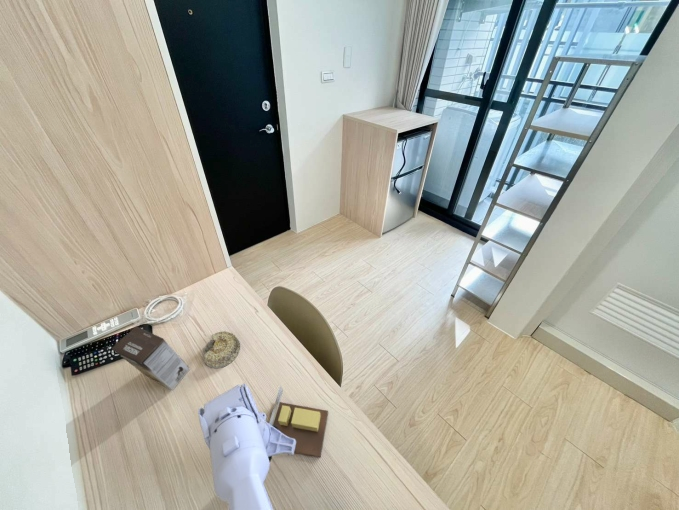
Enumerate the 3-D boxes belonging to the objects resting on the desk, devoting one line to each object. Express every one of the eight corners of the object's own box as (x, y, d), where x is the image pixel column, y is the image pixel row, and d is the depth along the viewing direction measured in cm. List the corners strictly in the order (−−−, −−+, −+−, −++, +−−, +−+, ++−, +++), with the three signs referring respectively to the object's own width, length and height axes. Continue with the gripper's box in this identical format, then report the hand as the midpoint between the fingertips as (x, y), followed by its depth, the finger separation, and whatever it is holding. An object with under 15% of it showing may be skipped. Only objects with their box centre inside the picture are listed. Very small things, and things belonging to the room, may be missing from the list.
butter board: (320, 457, 58) (320, 456, 58) (263, 446, 60) (262, 445, 59) (328, 412, 65) (328, 410, 64) (276, 402, 66) (275, 401, 65)
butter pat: (287, 426, 62) (285, 422, 59) (280, 424, 62) (277, 420, 60) (291, 410, 64) (289, 406, 62) (284, 409, 64) (282, 405, 62)
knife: (263, 474, 51) (259, 471, 49) (253, 472, 51) (249, 469, 49) (286, 391, 62) (284, 386, 59) (278, 390, 62) (275, 384, 60)
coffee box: (146, 377, 70) (109, 348, 59) (166, 355, 75) (135, 324, 63) (172, 391, 68) (139, 364, 57) (191, 368, 72) (164, 338, 61)
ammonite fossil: (242, 333, 80) (239, 324, 76) (238, 366, 73) (234, 358, 69) (207, 336, 79) (202, 326, 75) (199, 370, 72) (193, 361, 68)
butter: (317, 431, 61) (317, 428, 59) (292, 427, 62) (290, 423, 59) (320, 416, 63) (320, 411, 61) (296, 411, 64) (294, 407, 62)
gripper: (297, 411, 45) (304, 432, 54) (216, 397, 47) (236, 420, 56) (284, 463, 40) (295, 476, 49) (194, 445, 42) (221, 461, 51)
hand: (263, 449), depth 52 cm, fingers closed on knife, 2 cm apart
